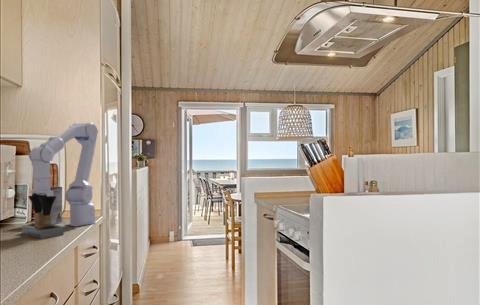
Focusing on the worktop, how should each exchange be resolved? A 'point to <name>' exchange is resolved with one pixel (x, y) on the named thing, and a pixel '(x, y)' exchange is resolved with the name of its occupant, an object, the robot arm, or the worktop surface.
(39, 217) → the walnut peg
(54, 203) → the coffee box
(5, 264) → the worktop surface
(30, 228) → the grey shallow tray
